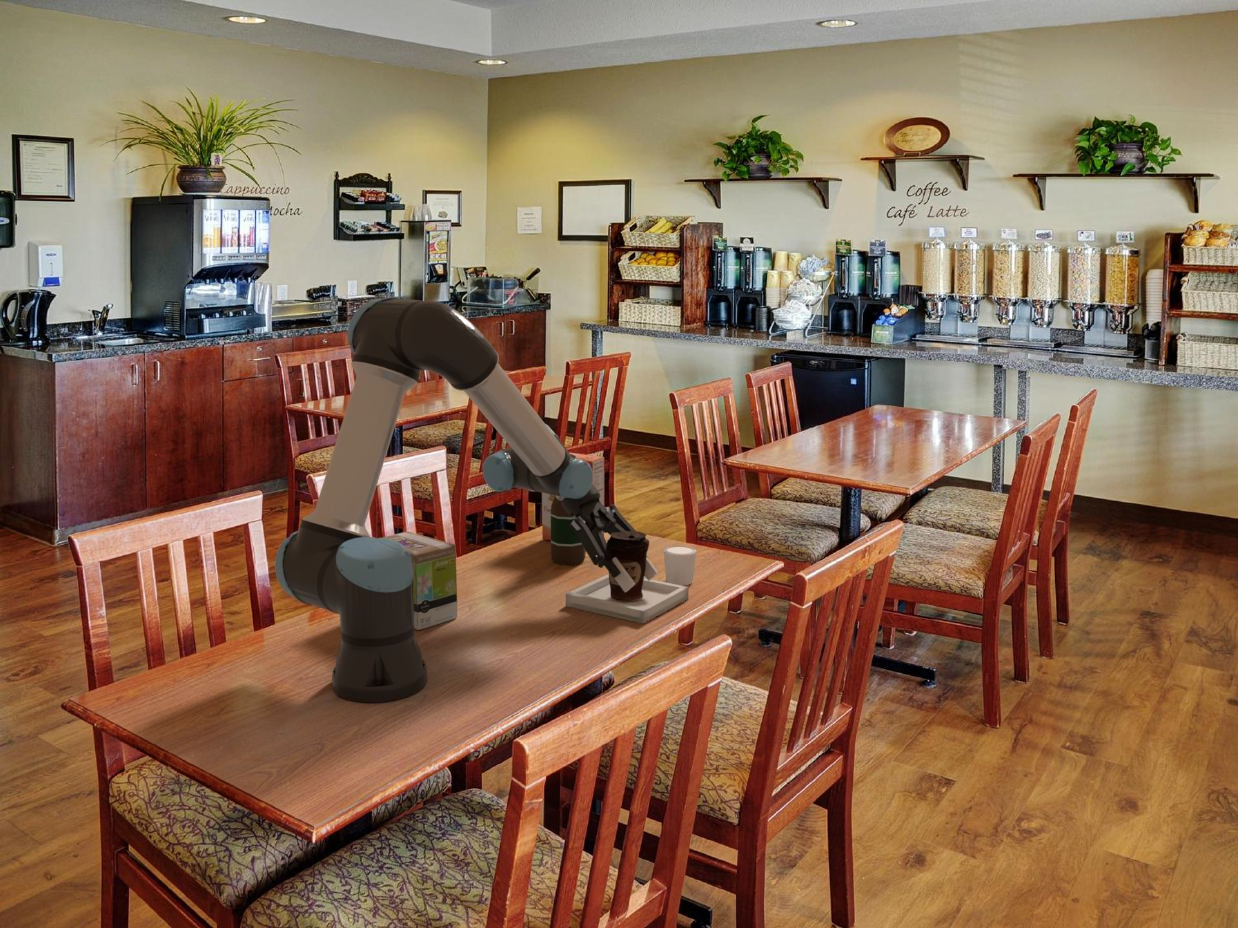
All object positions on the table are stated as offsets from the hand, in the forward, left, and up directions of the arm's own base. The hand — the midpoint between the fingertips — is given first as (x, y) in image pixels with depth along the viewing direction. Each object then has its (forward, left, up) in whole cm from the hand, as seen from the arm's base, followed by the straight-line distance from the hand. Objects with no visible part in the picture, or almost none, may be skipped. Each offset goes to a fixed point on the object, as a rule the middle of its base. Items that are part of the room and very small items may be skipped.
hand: (642, 582), depth 219 cm
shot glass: (+17, +1, -5) cm, 18 cm away
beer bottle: (+16, +29, -5) cm, 34 cm away
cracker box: (+29, +37, -5) cm, 48 cm away
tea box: (-29, +33, -5) cm, 44 cm away
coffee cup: (0, +3, -4) cm, 5 cm away
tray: (0, +3, -5) cm, 6 cm away
